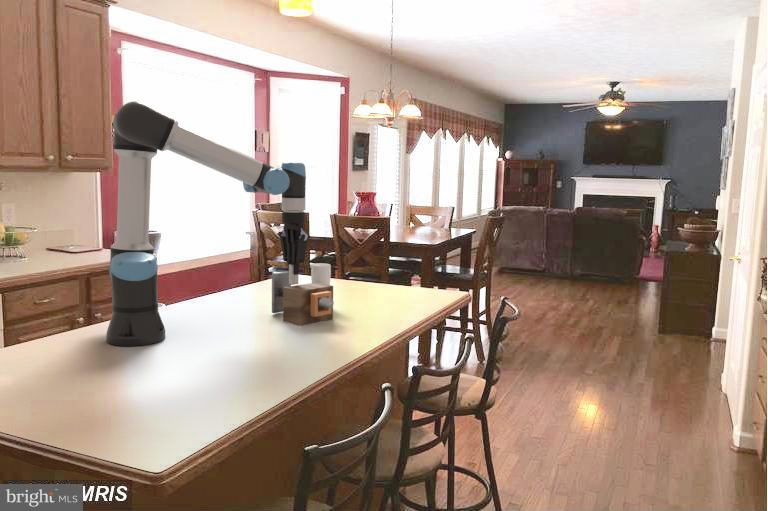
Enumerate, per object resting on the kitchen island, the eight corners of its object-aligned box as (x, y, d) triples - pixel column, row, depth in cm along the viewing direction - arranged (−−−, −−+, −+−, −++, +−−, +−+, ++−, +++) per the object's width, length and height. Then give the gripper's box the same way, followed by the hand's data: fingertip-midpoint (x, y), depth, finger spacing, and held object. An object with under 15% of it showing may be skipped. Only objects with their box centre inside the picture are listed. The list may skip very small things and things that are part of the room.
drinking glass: (331, 305, 226) (332, 263, 224) (328, 309, 219) (328, 266, 217) (313, 304, 226) (313, 262, 224) (309, 308, 220) (309, 265, 218)
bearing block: (299, 325, 195) (299, 291, 194) (283, 321, 201) (283, 287, 199) (332, 318, 205) (333, 285, 204) (316, 314, 211) (316, 282, 209)
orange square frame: (314, 316, 195) (315, 294, 195) (310, 315, 197) (310, 293, 196) (331, 313, 200) (331, 291, 200) (327, 312, 202) (327, 291, 201)
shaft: (321, 325, 194) (321, 283, 192) (271, 312, 210) (271, 273, 208) (338, 322, 199) (338, 281, 197) (288, 309, 215) (288, 271, 213)
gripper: (316, 212, 202) (315, 285, 205) (289, 209, 211) (289, 280, 214) (297, 212, 196) (297, 288, 200) (271, 210, 205) (271, 282, 208)
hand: (293, 284), depth 207 cm, fingers closed
